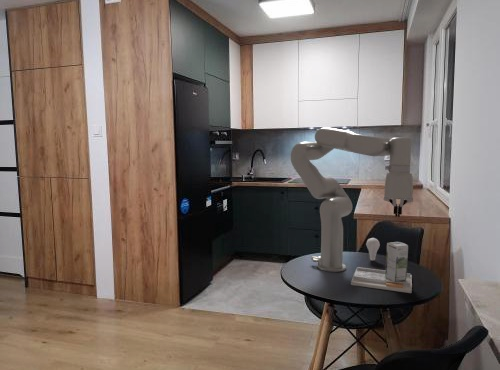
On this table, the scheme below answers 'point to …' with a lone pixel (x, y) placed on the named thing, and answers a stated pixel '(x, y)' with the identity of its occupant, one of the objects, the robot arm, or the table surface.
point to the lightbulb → (372, 247)
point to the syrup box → (396, 261)
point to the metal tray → (377, 277)
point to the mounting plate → (383, 285)
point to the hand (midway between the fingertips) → (397, 216)
